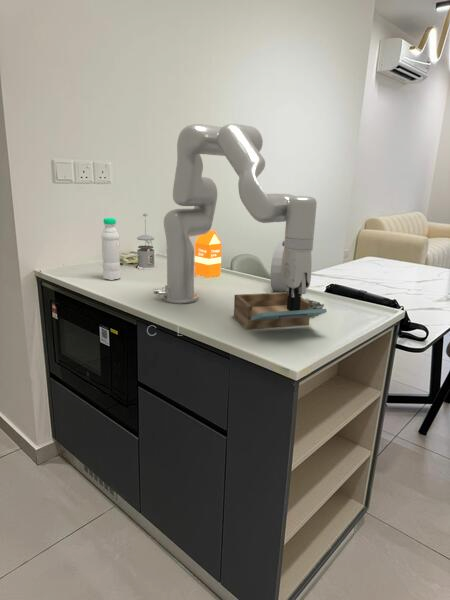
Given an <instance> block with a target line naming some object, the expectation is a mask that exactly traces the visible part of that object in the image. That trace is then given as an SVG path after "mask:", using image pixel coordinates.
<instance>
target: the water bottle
mask: <svg viewBox="0 0 450 600" xmlns="http://www.w3.org/2000/svg"><path fill="white" fill-rule="evenodd" d="M116 224H117V219H116V218H115V217H104V218H103V225H104V229H103V231H102V232H101V233H102V234H101V235H100V236H101V254H102V269H103V270H102V271H103V272H102V275H103V276H102V278H103V277H104V278H107V279H115V278H120V277H121V276H122V274H121V261H120V260H121V251H120V249H121V247H120V234H119V232H118V231H117V228H116ZM104 278H103V279H104ZM120 279H121V278H120Z"/></svg>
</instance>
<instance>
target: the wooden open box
mask: <svg viewBox="0 0 450 600" xmlns="http://www.w3.org/2000/svg"><path fill="white" fill-rule="evenodd" d="M288 296H289V295H287V292H265V293H262V292H261V293H243V294H234V298H233V299H234V302H233V304H234V305H233V317H234V318H235V319H236V320H237V321H239V323H240V324H241V325H242V326H243V327H244V328H245V329H246V330H257V329H259V330H260V329H271V328H274V329H275V328H286V327H298V326H299V327H300V326H301V327H302V326H309V325H310V319H311V317H304V318H289V319H269V320H254V321H251V317H253V316H255V315H258V314H260V313H264V312H280V311H289V310H287V299H288ZM305 299H306V298H303V296H302V297H301V301H300V310H310V308H311V303H310V302H308V301H307V300H305Z"/></svg>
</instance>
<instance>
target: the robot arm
mask: <svg viewBox="0 0 450 600" xmlns="http://www.w3.org/2000/svg"><path fill="white" fill-rule="evenodd" d="M263 142H264V140H263V135H262V133H261V132H260V131H259V130H258V129H257V128H256V127H254V126H251V125H244V124H238V123H229V124H226V125H223V126H215V125H210V124H209V125H208V124H189V125H187V126H185V127H184V128H182V130H181V131H180V133H179V135H178V138H177V142H176V153H177V154H176V157H177V159H176V160H177V161H176V167H175V172H174V180H173V187H172V200H173V201H174V204H176V205H177V206H181V207H194V208H175V209H172V210H170V211H168V212H167V213H166V214H165V216H164V217H163V228H164V233H165V241H166V284H165V285H164V287H162V288H153V295H158V296H162V300H163V301H164V302H166V303H170V304H191V303H194V302H195V303H196V302H197V300H199V295H198V294H197V293H195V246H194V244H193V243H192V241H191V239H190V238H191V237H198V236H200V235H205V234H207V233H208V232H209V230H211V228H212V225H213V223H214V222H213V221H214V218H215V217H214V216H215V212H216V206H217V200H218V188H217V185H216V183H215V182H214V180H213V179H212V178H210V177H206V176H202V175H203V170H204V165H203V164H204V163H203V159H202V157H201V155H209V156H218V157H219V156H221V157H225V158H226V159H227V161H228V163H229V164H230V166H231V167H232V169H233V170H234V172H235V173H236V174H237V176H238V183H237V187H238V194H239V199H240V200H241V203H242V204H243V206H244V207H245V209H246V210H247V212H248V213H249V215H250V216H251V217H252V218H253V219H254V220H255V221H257V222H258V223H263V224H269V223H282V222H284V223H285V228H284V229H285V231H284V240H285V241H284V240H283V241H284V251H283V256H282V262H281V270H280V281H281V282H282V283H284V284H285V285H286V286H287V295H289V296H288V299H287V310H289V311H296V310H300V301H301V297H302V298H303V295H305V294H307V289H309V287H310V285H311V280H312V252H313V249H314V238H315V237H314V236H315V225H316V214H317V213H316V212H317V200H316V198H315V197H312V196H307V195H306V196H304V195H292V194H290V193H266V191H265V190H264V189H263V186H261V185H260V183H259V181H258V179H257V178H258V177H259V176H260V174H262V173H263V171H264V169H265V167H266V160H265V158H264V156H263V155H262V154H261V150H262V148H263ZM299 285H300V286H299Z"/></svg>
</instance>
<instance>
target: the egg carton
mask: <svg viewBox="0 0 450 600" xmlns="http://www.w3.org/2000/svg"><path fill="white" fill-rule="evenodd" d="M304 299H305V300H307V301H308V302H310V303H311V308H310V310H313V309H324V307H325V304H324V303H320V302H319V301H316V300H311V299H309V298H304ZM315 317H316V315H315V316H311V317H310V318H315Z"/></svg>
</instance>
